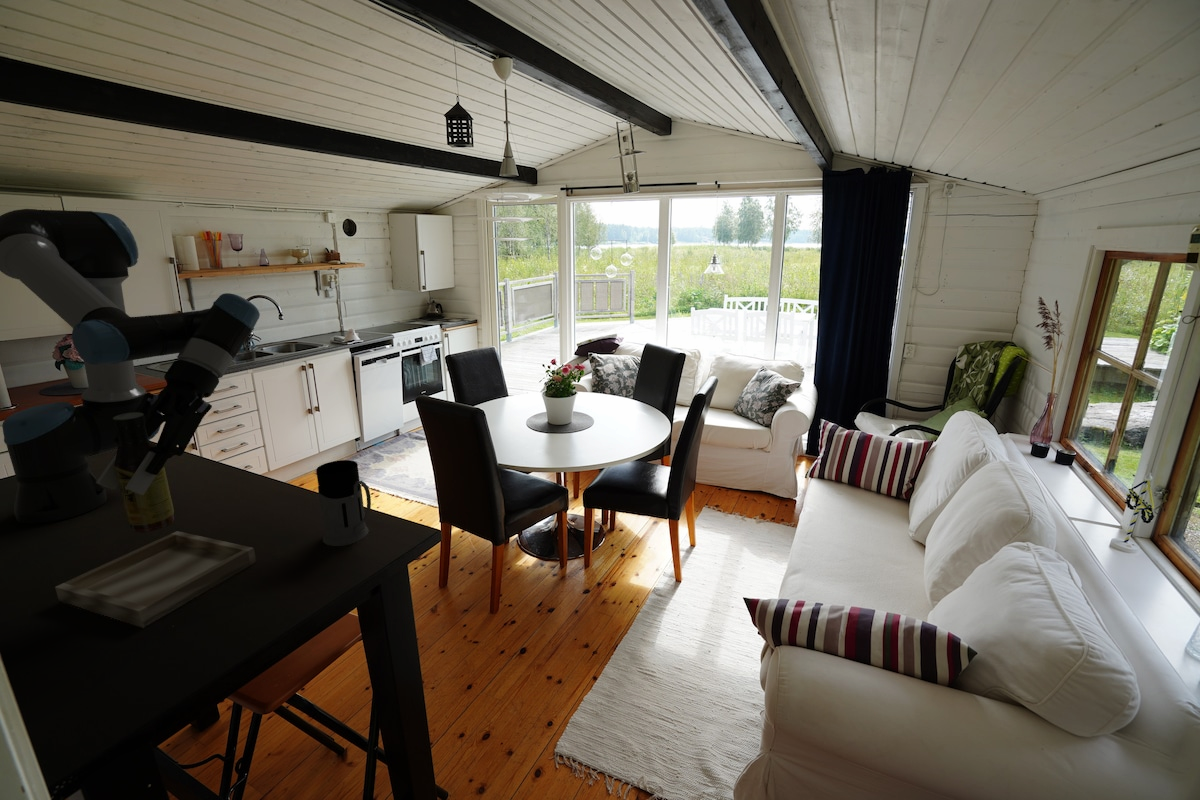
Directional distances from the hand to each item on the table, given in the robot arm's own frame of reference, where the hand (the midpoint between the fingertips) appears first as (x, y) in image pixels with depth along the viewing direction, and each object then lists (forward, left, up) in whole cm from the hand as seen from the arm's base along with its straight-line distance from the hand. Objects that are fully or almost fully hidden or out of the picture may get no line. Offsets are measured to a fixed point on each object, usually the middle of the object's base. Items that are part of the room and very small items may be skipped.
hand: (119, 488), depth 91 cm
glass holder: (+20, +27, -20) cm, 39 cm away
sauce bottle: (0, +4, -9) cm, 9 cm away
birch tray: (-1, +4, -19) cm, 20 cm away
